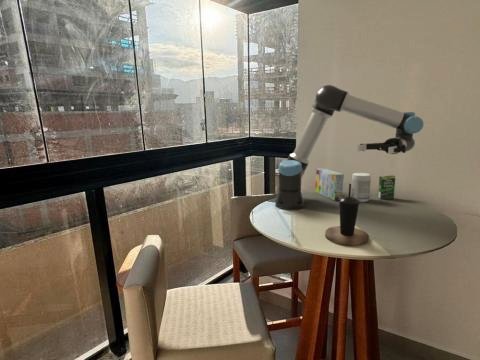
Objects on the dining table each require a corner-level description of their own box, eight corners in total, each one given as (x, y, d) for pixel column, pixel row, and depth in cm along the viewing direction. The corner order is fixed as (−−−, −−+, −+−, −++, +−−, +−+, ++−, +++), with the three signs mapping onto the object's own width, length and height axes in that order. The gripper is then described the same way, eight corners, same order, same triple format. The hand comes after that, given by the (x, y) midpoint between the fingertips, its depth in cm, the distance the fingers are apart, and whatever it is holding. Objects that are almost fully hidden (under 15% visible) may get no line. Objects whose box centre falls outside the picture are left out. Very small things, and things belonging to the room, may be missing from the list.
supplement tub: (372, 199, 164) (374, 174, 161) (364, 203, 157) (366, 176, 154) (355, 196, 171) (357, 171, 167) (347, 200, 164) (349, 174, 161)
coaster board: (329, 245, 107) (330, 241, 107) (321, 229, 123) (321, 225, 122) (375, 246, 106) (375, 242, 105) (361, 229, 121) (361, 226, 121)
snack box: (342, 200, 164) (344, 173, 161) (334, 201, 162) (335, 174, 159) (322, 191, 184) (323, 167, 181) (314, 192, 182) (315, 168, 179)
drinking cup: (354, 230, 117) (357, 181, 113) (359, 237, 110) (363, 186, 106) (334, 229, 118) (337, 181, 114) (339, 237, 111) (342, 186, 106)
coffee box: (379, 199, 164) (381, 176, 161) (377, 198, 167) (379, 175, 164) (393, 199, 164) (396, 176, 161) (391, 197, 167) (393, 175, 164)
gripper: (422, 155, 131) (402, 161, 118) (368, 151, 150) (346, 155, 136) (424, 139, 129) (404, 142, 116) (369, 136, 148) (347, 139, 135)
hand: (373, 149), depth 126 cm, fingers open, 13 cm apart
